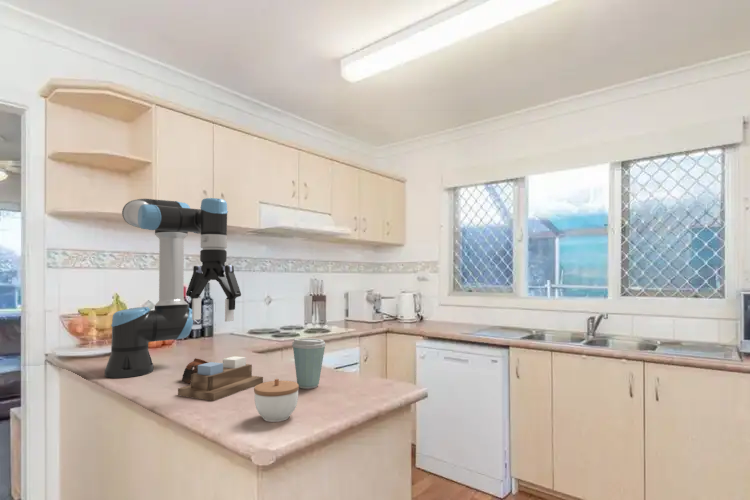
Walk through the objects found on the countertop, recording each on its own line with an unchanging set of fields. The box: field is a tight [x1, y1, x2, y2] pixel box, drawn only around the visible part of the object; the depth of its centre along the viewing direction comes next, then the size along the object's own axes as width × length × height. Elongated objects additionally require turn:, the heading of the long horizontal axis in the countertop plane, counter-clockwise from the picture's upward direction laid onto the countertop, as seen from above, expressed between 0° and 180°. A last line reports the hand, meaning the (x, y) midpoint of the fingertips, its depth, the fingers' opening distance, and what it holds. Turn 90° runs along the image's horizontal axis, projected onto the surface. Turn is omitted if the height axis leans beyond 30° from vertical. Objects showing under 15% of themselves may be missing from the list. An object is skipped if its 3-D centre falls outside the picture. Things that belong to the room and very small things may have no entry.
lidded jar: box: [253, 378, 299, 423], centre depth 104 cm, size 11×11×9 cm
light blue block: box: [198, 361, 223, 376], centre depth 126 cm, size 5×5×4 cm
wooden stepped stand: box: [177, 363, 264, 402], centre depth 130 cm, size 14×21×6 cm, turn 156°
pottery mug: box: [181, 357, 209, 385], centre depth 141 cm, size 12×10×8 cm
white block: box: [222, 355, 247, 369], centre depth 135 cm, size 5×5×4 cm
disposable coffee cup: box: [291, 337, 327, 390], centre depth 133 cm, size 11×11×15 cm
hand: (212, 320), depth 127 cm, fingers open, 12 cm apart
